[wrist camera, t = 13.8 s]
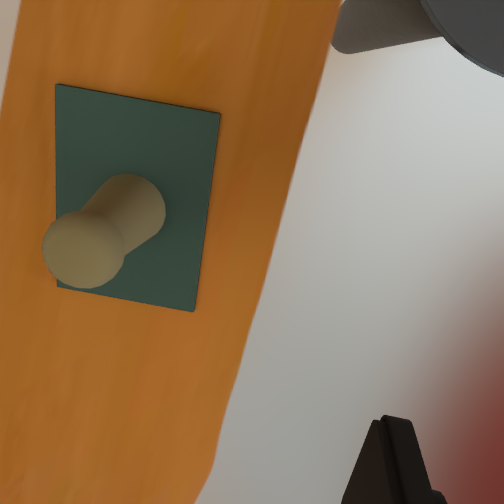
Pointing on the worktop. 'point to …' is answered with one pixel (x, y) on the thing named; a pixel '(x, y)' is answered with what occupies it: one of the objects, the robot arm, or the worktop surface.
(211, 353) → the worktop surface
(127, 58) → the worktop surface
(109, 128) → the side mat
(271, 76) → the worktop surface
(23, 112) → the worktop surface
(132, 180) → the cork
